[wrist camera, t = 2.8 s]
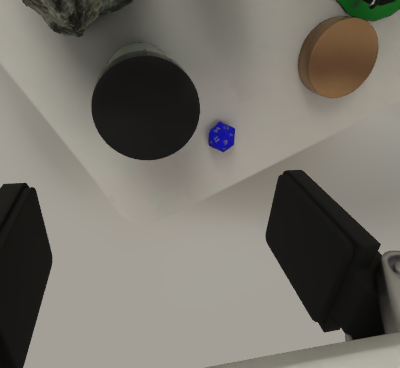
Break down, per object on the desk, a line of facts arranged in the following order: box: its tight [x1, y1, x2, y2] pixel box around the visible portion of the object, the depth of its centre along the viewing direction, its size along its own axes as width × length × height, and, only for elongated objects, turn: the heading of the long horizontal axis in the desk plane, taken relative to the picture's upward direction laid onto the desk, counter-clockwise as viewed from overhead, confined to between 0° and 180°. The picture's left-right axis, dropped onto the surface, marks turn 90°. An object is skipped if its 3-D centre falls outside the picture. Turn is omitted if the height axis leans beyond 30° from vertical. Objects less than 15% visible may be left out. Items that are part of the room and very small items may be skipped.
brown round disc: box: [298, 17, 378, 98], centre depth 28 cm, size 7×7×2 cm
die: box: [209, 122, 235, 152], centre depth 29 cm, size 3×3×3 cm
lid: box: [92, 49, 200, 160], centre depth 19 cm, size 7×7×2 cm
